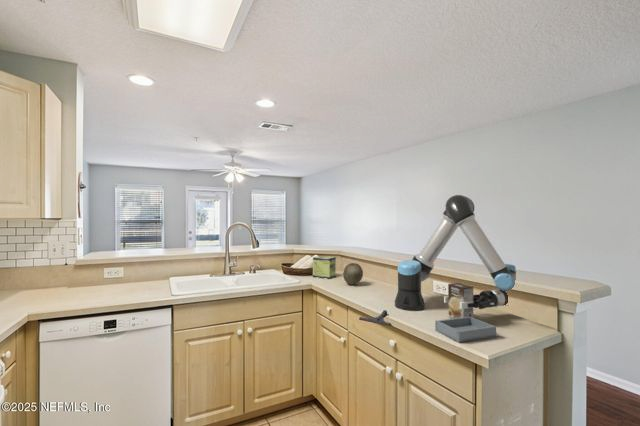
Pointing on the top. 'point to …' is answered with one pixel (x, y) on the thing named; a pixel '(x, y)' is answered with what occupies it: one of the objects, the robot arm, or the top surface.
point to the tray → (465, 329)
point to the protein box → (324, 267)
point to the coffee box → (459, 300)
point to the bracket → (377, 319)
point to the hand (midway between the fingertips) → (452, 302)
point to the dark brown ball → (353, 273)
